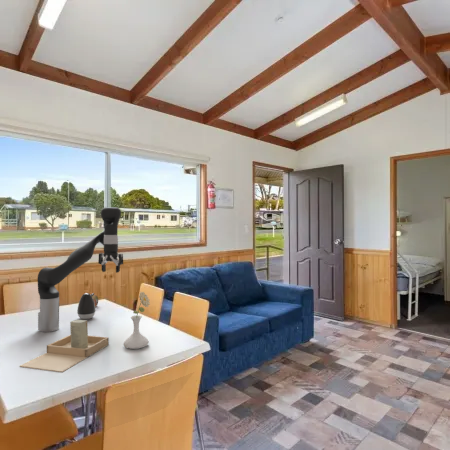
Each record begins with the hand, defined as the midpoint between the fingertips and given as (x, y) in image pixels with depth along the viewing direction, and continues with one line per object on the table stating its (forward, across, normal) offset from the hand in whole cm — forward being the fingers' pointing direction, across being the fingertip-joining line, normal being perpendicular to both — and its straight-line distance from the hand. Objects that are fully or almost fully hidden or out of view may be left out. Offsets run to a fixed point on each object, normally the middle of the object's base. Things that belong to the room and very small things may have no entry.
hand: (110, 272), depth 184 cm
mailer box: (+30, +6, -41) cm, 51 cm away
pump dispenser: (+30, -23, +10) cm, 39 cm away
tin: (+30, -36, +31) cm, 56 cm away
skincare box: (+30, +6, -34) cm, 46 cm away
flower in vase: (+30, +30, -24) cm, 49 cm away
